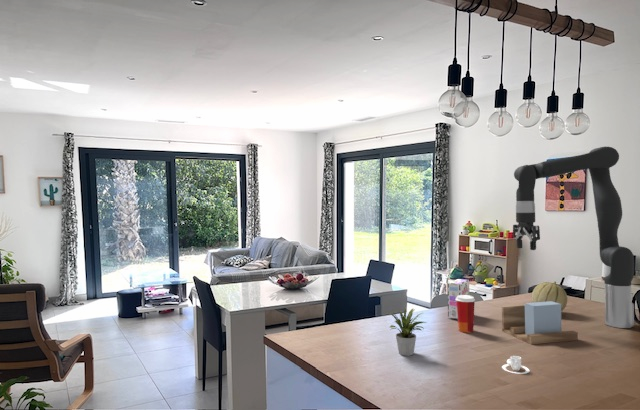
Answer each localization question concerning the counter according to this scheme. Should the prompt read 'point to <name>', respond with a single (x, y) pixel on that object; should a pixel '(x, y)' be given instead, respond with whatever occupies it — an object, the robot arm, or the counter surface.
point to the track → (516, 327)
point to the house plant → (406, 332)
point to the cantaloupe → (550, 294)
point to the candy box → (454, 290)
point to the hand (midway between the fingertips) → (526, 249)
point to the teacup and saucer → (515, 365)
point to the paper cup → (465, 313)
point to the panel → (542, 317)
